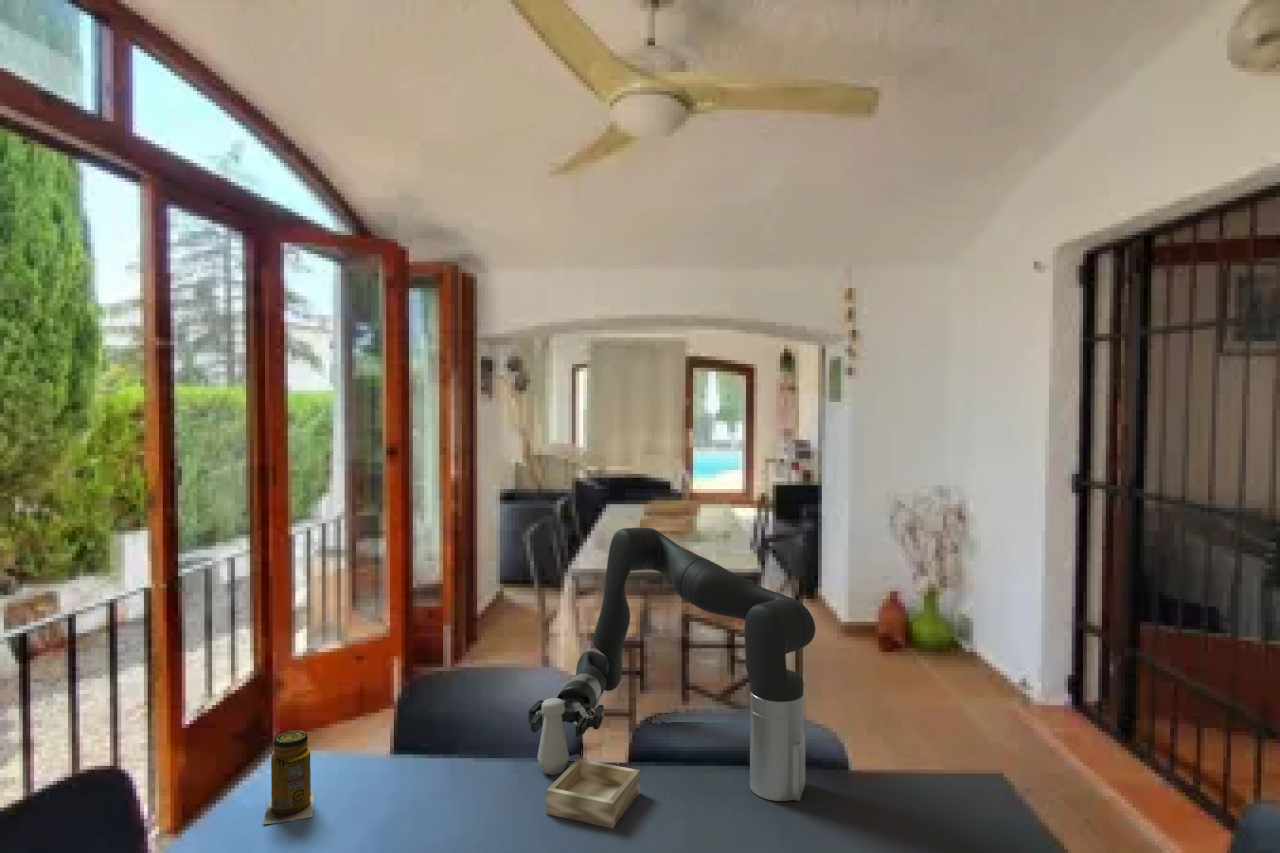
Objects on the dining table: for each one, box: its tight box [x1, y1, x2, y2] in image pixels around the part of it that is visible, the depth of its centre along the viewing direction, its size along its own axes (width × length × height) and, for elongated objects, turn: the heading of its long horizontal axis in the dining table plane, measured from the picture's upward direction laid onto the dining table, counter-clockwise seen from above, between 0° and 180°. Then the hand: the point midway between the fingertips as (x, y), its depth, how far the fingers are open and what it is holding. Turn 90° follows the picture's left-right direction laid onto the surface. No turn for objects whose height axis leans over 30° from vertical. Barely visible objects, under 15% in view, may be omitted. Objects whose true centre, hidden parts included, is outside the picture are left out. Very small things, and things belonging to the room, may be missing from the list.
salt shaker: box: [537, 697, 570, 776], centre depth 141 cm, size 6×6×13 cm
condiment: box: [262, 730, 316, 825], centre depth 127 cm, size 7×8×12 cm
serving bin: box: [545, 758, 641, 829], centre depth 129 cm, size 12×12×4 cm
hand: (555, 730), depth 142 cm, fingers open, 8 cm apart
